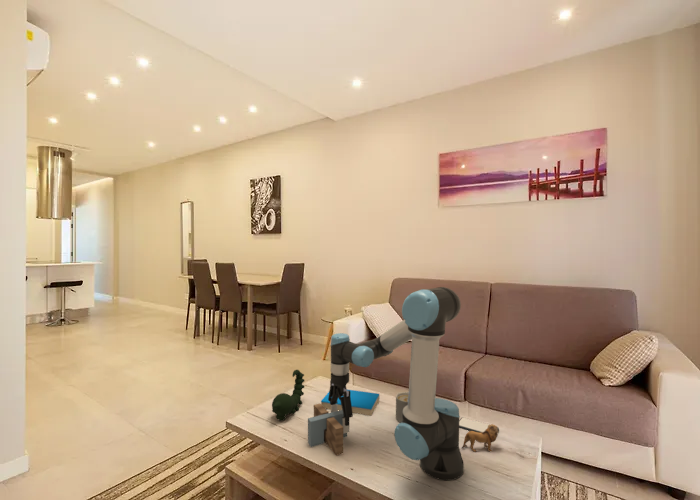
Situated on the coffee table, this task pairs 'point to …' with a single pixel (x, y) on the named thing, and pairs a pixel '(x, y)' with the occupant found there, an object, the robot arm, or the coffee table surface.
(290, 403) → the toy figurine
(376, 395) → the book
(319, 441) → the slate plate
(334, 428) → the walnut board
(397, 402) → the coffee mug
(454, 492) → the coffee table surface
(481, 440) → the lion figurine
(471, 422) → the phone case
